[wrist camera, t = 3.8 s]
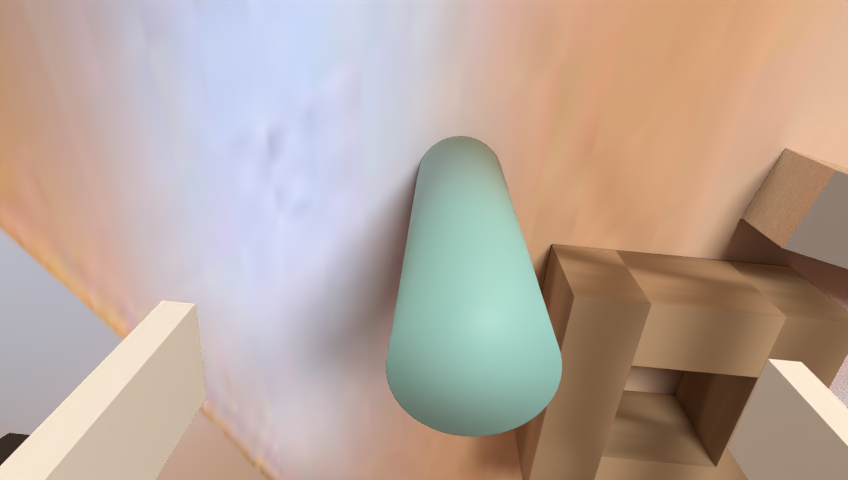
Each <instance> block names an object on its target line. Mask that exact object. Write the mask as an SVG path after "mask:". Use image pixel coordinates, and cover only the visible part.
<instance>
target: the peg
mask: <svg viewBox="0 0 848 480" xmlns="http://www.w3.org/2000/svg"><path fill="white" fill-rule="evenodd" d="M386 374H387V380H388V383H389V386H390V389H391V391H392V393H393V395H394V397H395V399H396V400H397V401H398V403H399V404H400V406H401V407H402V408H403V409H404V410H405V411H406V412H407V413H408V414H409V415H411V416H412V417H413V418H414V419H416V420H417V421H419V422H421V423H422V424H424V425H426V426H428V427H430V428H432V429H435V430H438V431H441V432H444V433H448V434H452V435H459V436H471V437H476V436H488V435H495V434H499V433H503V432H506V431H509V430H512V429H515V428H517V427H519V426H521V425H523V424H525V423H526V422H528V421H530V420H531V419H533V418H534V417H535V416H537V415H538V414H539V413H540V412H541V411H542V410H543V409H544V408H545V407H546V406H547V405H548V404H549V402H550V401H551V399H552V398H553V396H554V395H555V393H556V391H557V389H558V386H559V383H560V380H561V374H562V359H561V353H560V350H559V346H558V343H557V340H556V337H555V334H554V331H553V328H552V325H551V321H550V318H549V315H548V312H547V309H546V306H545V303H544V300H543V297H542V293H541V290H540V287H539V284H538V281H537V278H536V275H535V272H534V268H533V265H532V262H531V259H530V256H529V253H528V250H527V247H526V244H525V240H524V237H523V234H522V231H521V228H520V225H519V222H518V219H517V215H516V212H515V209H514V206H513V203H512V200H511V197H510V194H509V190H508V187H507V184H506V181H505V178H504V175H503V172H502V169H501V166H500V163H499V160H498V158H497V156H496V155H495V153H494V152H493V151H492V150H491V149H490V148H489V147H488V146H487V145H486V144H484V143H483V142H481V141H479V140H477V139H474V138H471V137H463V136H458V137H451V138H447V139H444V140H442V141H440V142H438V143H437V144H435V145H434V146H433V147H431V148H430V149H429V150H428V152H427V153H426V154H425V156H424V157H423V159H422V161H421V163H420V166H419V171H418V176H417V182H416V188H415V194H414V200H413V206H412V212H411V218H410V224H409V230H408V236H407V242H406V248H405V254H404V259H403V265H402V271H401V277H400V283H399V289H398V295H397V301H396V307H395V313H394V319H393V325H392V331H391V337H390V342H389V348H388V354H387V361H386Z"/></svg>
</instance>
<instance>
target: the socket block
mask: <svg viewBox="0 0 848 480" xmlns="http://www.w3.org/2000/svg"><path fill="white" fill-rule="evenodd" d="M542 297H543V300H544V303H545V306H546V309H547V312H548V315H549V318H550V321H551V325H552V328H553V331H554V334H555V337H556V340H557V343H558V346H559V350H560V353H561V359H562V374H561V380H560V383H559V386H558V389H557V391H556V393H555V395H554V396H553V398H552V399H551V401H550V402H549V404H548V405H547V406H546V407H545V408H544V409H543V410H542V411H541V412H540V413H539V414H538V415H537V416H535V417H534V418H533V419H531V420H530V421H528V422H526V423H525V424H523V425H521V426H519V427H517V428H515V434H516V440H517V446H518V453H519V459H520V465H521V472H522V478H523V480H748V479H747V477H746V476H745V474H744V473H743V471H742V470H741V468H740V466H739V465H738V463H737V462H736V460H735V459H734V457H733V455H732V454H731V452H730V451H729V449H728V446H729V444H730V441H731V439H732V437H733V435H734V433H735V430H736V428H737V426H738V424H739V421H740V419H741V417H742V415H743V413H744V410H745V408H746V406H747V404H748V402H749V399H750V397H751V395H752V393H753V391H754V388H755V386H756V384H757V382H758V379H759V377H760V375H761V373H762V371H763V368H764V366H765V364H766V362H767V360H768V359H776V360H786V361H797V362H802V363H803V364H804V365H805V366H806V367H807V368H808V369H809V370H810V371H811V372H812V373H813V374H814V375H815V376H816V377H817V378H818V379H819V380H820V381H821V382H822V383H823V384H824V385H825V386H826V387H827V388H829V387H830V385H831V383H832V381H833V379H834V378H835V376H836V374H837V372H838V370H839V368H840V367H841V365H842V363H843V361H844V359H845V358H846V356H847V354H848V311H846V310H845V309H844V308H843V307H841V306H840V305H839V304H837V303H836V302H835V301H834V300H832V299H831V298H830V297H828V296H827V295H826V294H825V293H823V292H822V291H821V290H819V289H818V288H817V287H816V286H814V285H813V284H812V283H810V282H809V281H808V280H807V279H805V278H804V277H803V276H801V275H800V274H799V273H798V272H796V271H795V270H794V269H792V268H791V267H788V266H778V265H767V264H756V263H746V262H735V261H725V260H714V259H703V258H693V257H682V256H672V255H661V254H650V253H640V252H629V251H619V250H608V249H597V248H587V247H576V246H566V245H555V244H552V247H551V251H550V256H549V261H548V265H547V270H546V275H545V279H544V284H543V289H542ZM631 366H642V367H653V368H663V369H674V370H684V373H683V375H682V378H681V380H680V383H679V386H678V388H677V391H676V393H675V395H665V394H655V393H644V392H634V391H623V390H624V387H625V384H626V381H627V378H628V375H629V372H630V369H631Z"/></svg>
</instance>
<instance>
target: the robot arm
mask: <svg viewBox="0 0 848 480" xmlns="http://www.w3.org/2000/svg"><path fill="white" fill-rule="evenodd" d="M206 398H207V397H206V388H205V380H204V371H203V363H202V355H201V346H200V338H199V329H198V321H197V312H196V304H193V303H182V302H172V301H161V302H160V303H159V304H158V305H157V306H156V307H155V308H154V309H153V310H152V311H151V313H150V314H149V315H148V316H147V317H146V318H145V319H144V320H143V321H142V322H141V323H140V324H139V325H138V326H137V327H136V328H135V329H134V330H133V331H132V332H131V333H130V334H129V335H128V336H127V337H126V338H125V339H124V340H123V341H122V342H121V343H120V344H119V345H118V346H117V347H116V348H115V349H114V350H113V351H112V352H111V354H110V355H108V356H107V358H106V359H104V361H103V362H102V363H101V364H100V365H99V366H98V367H97V368H96V369H95V370H94V371H93V372H92V373H91V374H90V375H89V376H88V377H87V378H86V379H85V380H84V381H83V382H82V383H81V384H80V385H79V386H78V387H77V388H76V389H75V390H74V391H73V392H72V393H71V394H70V395H69V396H68V397H67V398H66V399H65V400H64V401H63V402H62V403H61V404H60V405H59V406H58V408H57V409H56V410H55V411H54V412H53V413H52V414H51V415H50V416H49V417H48V418H47V419H46V420H45V421H44V422H43V423H42V424H41V425H40V426H39V427H38V428H37V429H36V430H35V431H34V432H33V433H32V434H31V435H24V434H14V433H9V434H7V435H5V436H4V437H2V438H1V439H0V480H155V479H156V478H157V477H158V475H159V473H160V472H161V470H162V468H163V467H164V465H165V464H166V462H167V460H168V459H169V457H170V456H171V454H172V452H173V451H174V449H175V447H176V446H177V444H178V443H179V441H180V439H181V438H182V436H183V435H184V433H185V431H186V430H187V428H188V427H189V425H190V423H191V422H192V420H193V419H194V417H195V415H196V414H197V412H198V410H199V409H200V407H201V406H202V404H203V402H204V401H205V399H206ZM728 449H729V451H730V452H731V454H732V455H733V457H734V459H735V460H736V462H737V463H738V465H739V466H740V468H741V470H742V471H743V473H744V474H745V476H746V477H747V479H748V480H848V408H847V407H846V406H845V405H844V404H843V403H842V402H841V401H840V400H839V399H838V398H837V397H836V396H835V395H834V394H833V393H832V392H831V391H830V390H829V389H828V388H827V387H826V386H825V385H824V384H823V383H822V382H821V381H820V380H819V379H818V378H817V377H816V376H815V375H814V374H813V373H812V372H811V371H810V370H809V369H808V368H807V367H806V366H805V365H804V364H803V363H802V362H797V361H786V360H776V359H768V360H767V362H766V364H765V366H764V368H763V371H762V373H761V375H760V377H759V379H758V382H757V384H756V386H755V388H754V391H753V393H752V395H751V397H750V399H749V402H748V404H747V406H746V408H745V410H744V413H743V415H742V417H741V419H740V421H739V424H738V426H737V428H736V430H735V433H734V435H733V437H732V439H731V441H730V444H729V446H728Z"/></svg>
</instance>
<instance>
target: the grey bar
mask: <svg viewBox="0 0 848 480" xmlns="http://www.w3.org/2000/svg"><path fill="white" fill-rule="evenodd" d="M741 218H742V219H744V220H745V221H746V222H748V223H749V224H750V225H752V226H753V227H754V228H756V229H757V230H758V231H760V232H761V233H763V234H764V235H765V236H767V237H768V238H769V239H771V240H772V241H773V242H775V243H776V244H777V245H779V246H780V247H781V248H783V249H786V250H790V251H793V252H796V253H799V254H802V255H805V256H808V257H811V258H814V259H817V260H821V261H824V262H827V263H830V264H833V265H836V266H839V267H842V268H845V269H848V169H845V168H842V167H839V166H837V165H834V164H831V163H828V162H825V161H822V160H819V159H816V158H813V157H810V156H807V155H804V154H801V153H799V152H796V151H793V150H790V149H787V148H785V150H784V151H783V153H782V154H781V156H780V157H779V159H778V161H777V162H776V164H775V165H774V167H773V168H772V170H771V171H770V173H769V175H768V176H767V178H766V179H765V181H764V182H763V184H762V186H761V187H760V189H759V190H758V192H757V193H756V195H755V196H754V198H753V200H752V201H751V203H750V204H749V206H748V207H747V209H746V211H745V212H744V214H743V215H742V217H741Z"/></svg>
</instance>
